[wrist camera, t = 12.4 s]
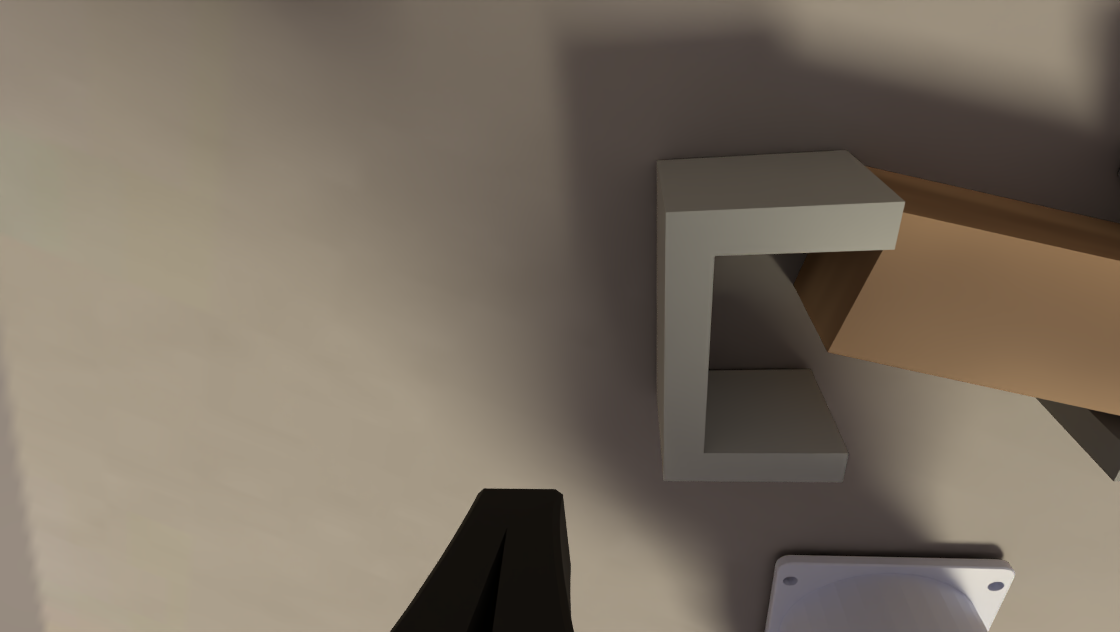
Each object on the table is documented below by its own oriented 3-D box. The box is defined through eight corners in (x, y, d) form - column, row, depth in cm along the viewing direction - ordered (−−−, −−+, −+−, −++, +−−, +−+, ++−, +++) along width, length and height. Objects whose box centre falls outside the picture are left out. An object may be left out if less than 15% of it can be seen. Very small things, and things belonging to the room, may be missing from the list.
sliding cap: (806, 395, 18) (842, 482, 15) (656, 397, 19) (663, 481, 16) (846, 150, 14) (905, 201, 11) (657, 160, 15) (665, 212, 12)
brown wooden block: (1131, 355, 17) (1239, 441, 14) (791, 280, 17) (827, 352, 14) (1228, 246, 15) (1376, 318, 12) (846, 159, 15) (903, 212, 12)
